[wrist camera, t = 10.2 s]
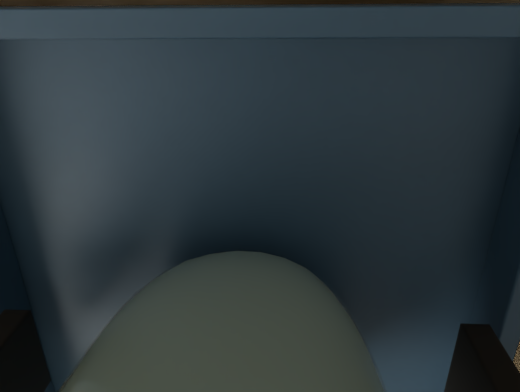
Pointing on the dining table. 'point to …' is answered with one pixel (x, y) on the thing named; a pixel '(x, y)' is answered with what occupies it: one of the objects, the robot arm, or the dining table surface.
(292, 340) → the cup
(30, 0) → the dining table surface
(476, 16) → the tray
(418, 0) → the dining table surface
